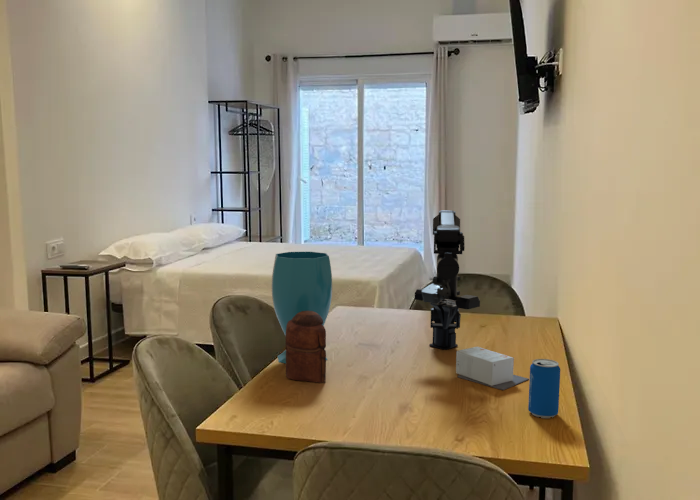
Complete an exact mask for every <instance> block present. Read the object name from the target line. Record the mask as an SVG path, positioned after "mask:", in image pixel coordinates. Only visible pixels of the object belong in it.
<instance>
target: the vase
mask: <svg viewBox="0 0 700 500" xmlns="http://www.w3.org/2000/svg"><path fill="white" fill-rule="evenodd" d="M273 262H274V263H273V267H272V274H271V275H272V276H271V298H272V305H273V310H274V312H275V315H276V318H277V320H278V322H279V325H280V327H281V329H282V332H283V334H284V336H285V337H286V326H287V323H288V321H290V320H292V318H293V317H294V316H295V315H296V314H297V313H299V312H301V311H314V312H316V313H317V314H319V315H320V316H321V317H322V319H323V324H322V325H323V326H324V327H325V324H326V320H327V318H328V316H329V313H330V309H331V304H332V300H333V299H332V298H333V275H332V266H331V260H330V255H328V253H327V252H318V251H317V252H316V251H286V252H281V253H280V252H279V253H275V257H274V261H273ZM277 360H278V363H282V364H285V365H286V349H285V350H283V352H282V353H280V354H278V355H277ZM326 361H328V358H327V357H326Z"/></svg>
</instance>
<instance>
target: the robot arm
mask: <svg viewBox="0 0 700 500" xmlns="http://www.w3.org/2000/svg"><path fill="white" fill-rule="evenodd" d="M456 214H457V213H456V211H454V210H446V209H445V210H442V209H441V210H439V211H438V215H436V216H435V217H433V218H432V235H433V254H434V255H435V254H436V255H437V256H436V275H435V276H433V278H432V283H431V284H428V285H427V286H425V287H422V288H417V289H416V290H415V292H414V300H415V301H421V302H422V301H423V302H424V303H429V304H430V306H432V307H431V308H430V329H432V342H431V343H429V345H428V346H430V347H432V348H433V347H434V348H435V349H441V350H444V351H446V350H449V349H453V348H456V347H458V344H457V342H456V341H457V333H456V330H458V329H460V328H461V318H462V317H461V315H462V314H461V313H460V310H459V309H461V310H472V309H476V308H480V306H481V299H480V297H478V296H477V295H470V294H464V295H461V291H460V290H458V281H461V276H459V273H460V265H459V256H458V255H463V252H465V247H466V246H465V236H464V233H463V231H461V218H459V216H457V215H456ZM460 295H461V296H460Z"/></svg>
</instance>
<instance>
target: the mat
mask: <svg viewBox="0 0 700 500" xmlns="http://www.w3.org/2000/svg"><path fill="white" fill-rule="evenodd" d="M457 378H459V379H462V380H467V381H470V382H473V383H475V384H476V383H477V384H480V385H483V386H487V387H490V388H494V389H498V390H501V391H505V390H507V389H510V388H512V387H515V386H516V385H519V384H522V383H524V382H526V381H530V378H529V377H524V376H521V375H516V374H513V381H509V382H506V383H501V384H498V385H494V386H491V385H488V384H485V383H482V382H480V381H477V380H474V379H471V378H468V377H466V376H463V375H460V374H458V375H457Z"/></svg>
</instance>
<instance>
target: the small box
mask: <svg viewBox="0 0 700 500" xmlns="http://www.w3.org/2000/svg"><path fill="white" fill-rule="evenodd" d="M455 356H456V358H455V362H456V363H455V373H456V374H458V375H463V376H466V377H468V378H471V379H474V380H477V381H480V382H482V383H485V384H488V385H491V386H494V385H498V384H501V383H506V382H509V381H513V375H514V363H515V357H512V356H509V355H506V354H504V353H500V352H496V351H492V350H489V349H487V348H483V347H481V346H473V347H468V348H463V349H459V350H456V355H455Z"/></svg>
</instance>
